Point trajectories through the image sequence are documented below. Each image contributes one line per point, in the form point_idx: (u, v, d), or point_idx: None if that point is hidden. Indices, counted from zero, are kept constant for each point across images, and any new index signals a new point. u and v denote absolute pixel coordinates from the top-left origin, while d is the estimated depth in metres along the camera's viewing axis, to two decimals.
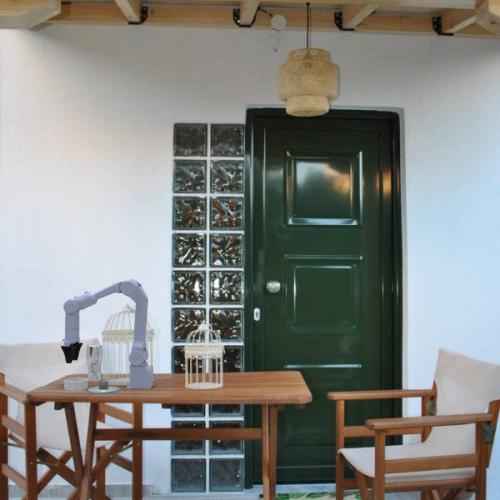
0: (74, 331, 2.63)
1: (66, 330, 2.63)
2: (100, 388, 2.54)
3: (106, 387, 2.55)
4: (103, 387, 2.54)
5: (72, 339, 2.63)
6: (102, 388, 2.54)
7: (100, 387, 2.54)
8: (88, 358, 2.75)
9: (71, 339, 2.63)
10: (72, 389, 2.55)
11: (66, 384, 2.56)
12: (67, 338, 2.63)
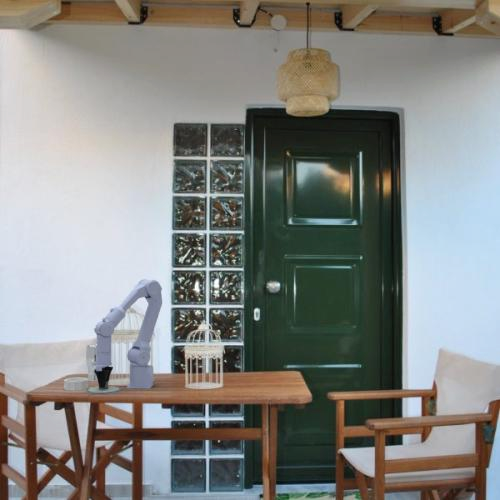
0: (106, 355, 2.54)
1: (98, 354, 2.54)
2: (100, 388, 2.54)
3: (106, 387, 2.55)
4: None
5: (104, 363, 2.53)
6: (102, 388, 2.54)
7: None
8: (88, 358, 2.75)
9: (103, 363, 2.53)
10: (72, 389, 2.55)
11: (66, 384, 2.56)
12: (99, 362, 2.53)
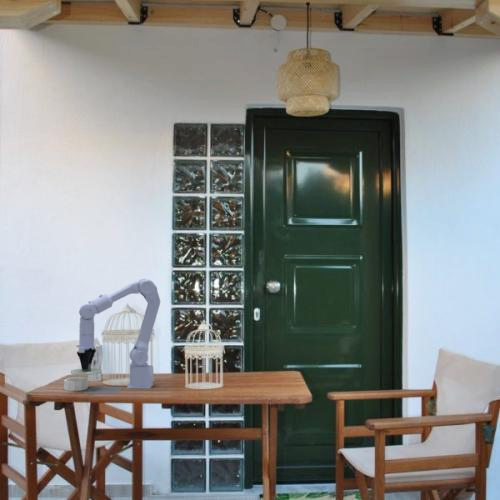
0: (89, 337, 2.56)
1: (81, 336, 2.56)
2: (83, 370, 2.56)
3: (89, 369, 2.57)
4: None
5: (87, 345, 2.55)
6: (85, 370, 2.56)
7: (83, 369, 2.56)
8: None
9: (86, 345, 2.55)
10: (72, 389, 2.55)
11: (66, 384, 2.56)
12: (82, 344, 2.56)
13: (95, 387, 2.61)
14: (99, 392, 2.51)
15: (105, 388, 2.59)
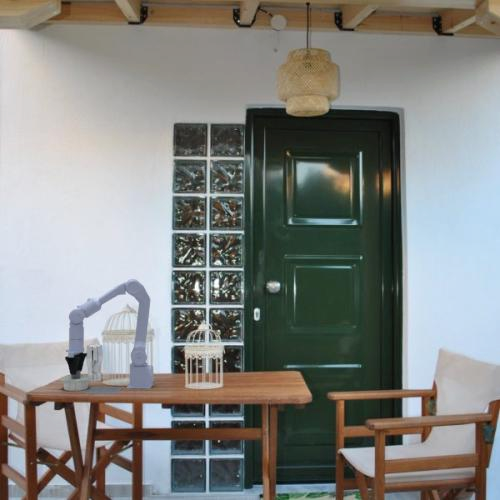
0: (78, 341, 2.57)
1: (70, 340, 2.57)
2: (72, 377, 2.58)
3: (78, 376, 2.58)
4: (75, 376, 2.58)
5: (76, 350, 2.57)
6: (74, 377, 2.58)
7: (72, 376, 2.58)
8: (88, 358, 2.75)
9: (75, 350, 2.57)
10: (72, 389, 2.55)
11: (66, 384, 2.56)
12: (71, 349, 2.57)
13: (95, 387, 2.61)
14: (99, 392, 2.51)
15: (105, 388, 2.59)
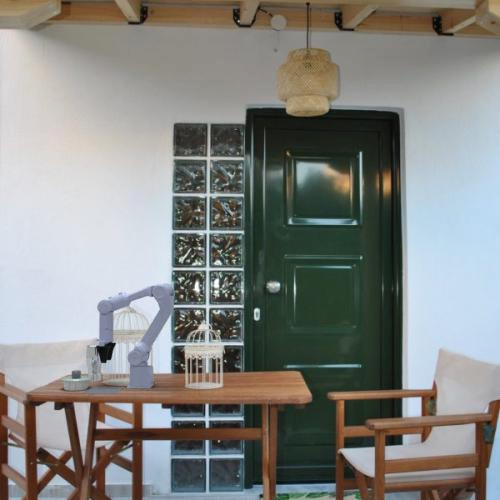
0: (108, 331, 2.65)
1: (100, 330, 2.65)
2: (73, 377, 2.58)
3: (79, 376, 2.58)
4: (76, 376, 2.58)
5: (106, 339, 2.64)
6: (75, 377, 2.58)
7: (73, 376, 2.58)
8: (88, 358, 2.75)
9: (105, 339, 2.64)
10: (72, 389, 2.55)
11: (66, 384, 2.56)
12: (101, 338, 2.65)
13: (95, 387, 2.61)
14: (99, 392, 2.51)
15: (105, 388, 2.59)
